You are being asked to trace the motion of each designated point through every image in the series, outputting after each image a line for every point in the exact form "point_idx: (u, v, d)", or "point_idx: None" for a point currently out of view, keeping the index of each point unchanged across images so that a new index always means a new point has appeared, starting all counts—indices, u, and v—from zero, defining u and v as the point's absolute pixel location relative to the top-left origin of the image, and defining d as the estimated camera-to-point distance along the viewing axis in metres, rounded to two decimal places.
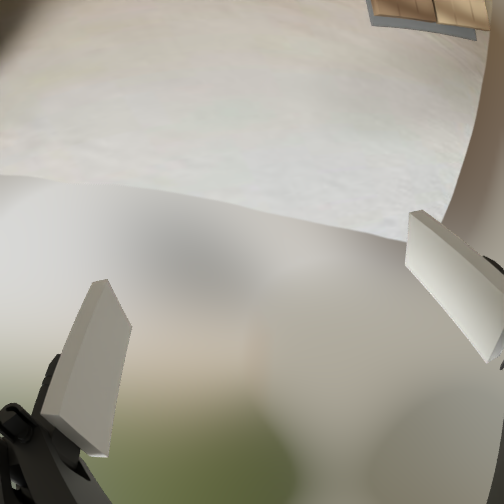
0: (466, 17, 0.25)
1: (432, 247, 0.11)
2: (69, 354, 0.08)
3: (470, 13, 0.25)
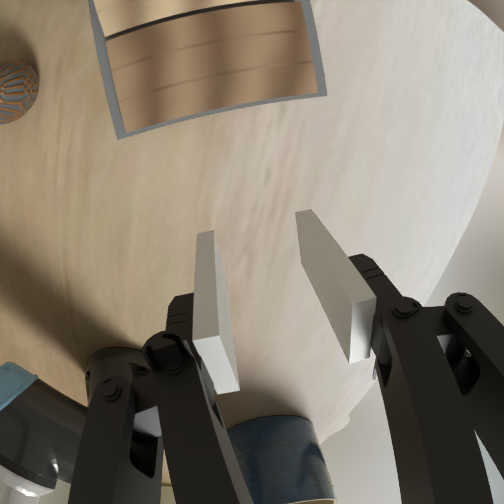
0: None
1: (308, 245, 0.12)
2: (205, 287, 0.10)
3: None
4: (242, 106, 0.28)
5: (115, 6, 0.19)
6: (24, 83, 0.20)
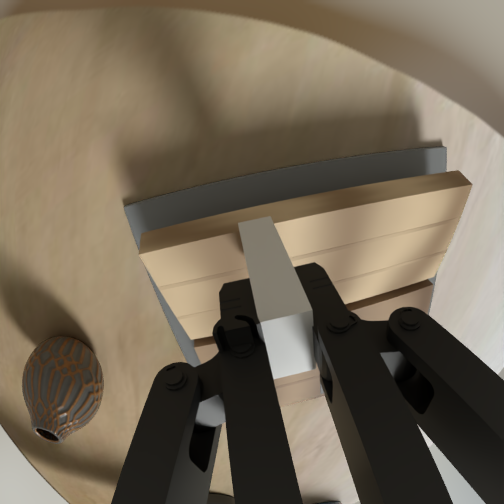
0: (440, 237, 0.18)
1: None
2: (260, 272, 0.10)
3: (434, 229, 0.17)
4: None
5: (206, 314, 0.19)
6: (94, 399, 0.19)
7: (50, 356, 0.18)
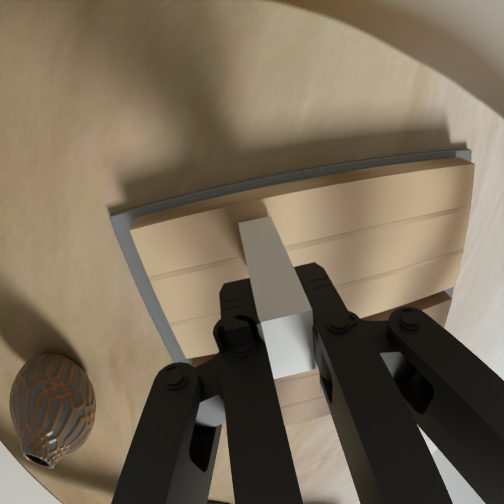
0: (453, 230, 0.16)
1: None
2: (260, 272, 0.10)
3: (445, 218, 0.16)
4: None
5: (202, 321, 0.17)
6: (86, 422, 0.16)
7: (37, 378, 0.15)
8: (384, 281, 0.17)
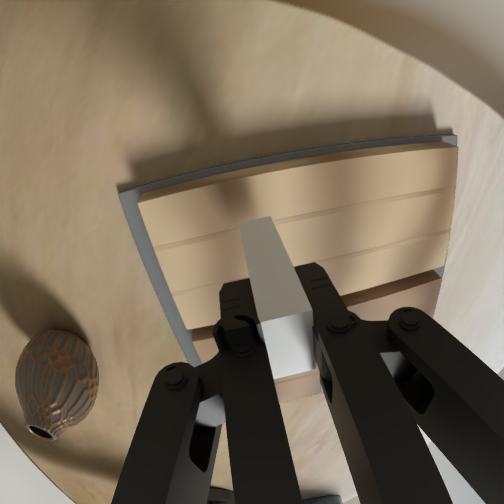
0: (439, 209, 0.17)
1: None
2: (260, 272, 0.10)
3: (430, 198, 0.17)
4: None
5: (202, 291, 0.18)
6: (89, 395, 0.18)
7: (43, 350, 0.17)
8: (373, 256, 0.18)
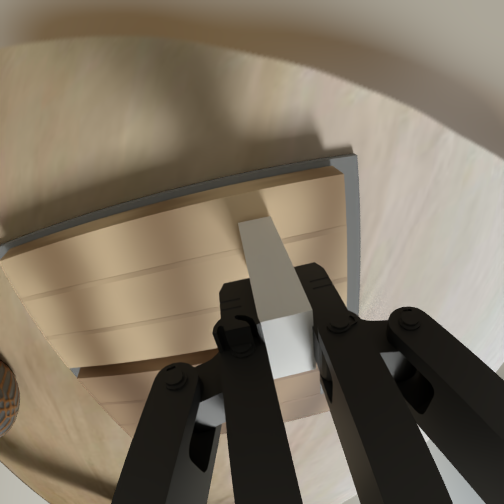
0: (322, 256, 0.16)
1: None
2: (260, 272, 0.10)
3: (304, 243, 0.15)
4: None
5: (67, 337, 0.16)
6: (5, 414, 0.16)
7: None
8: None
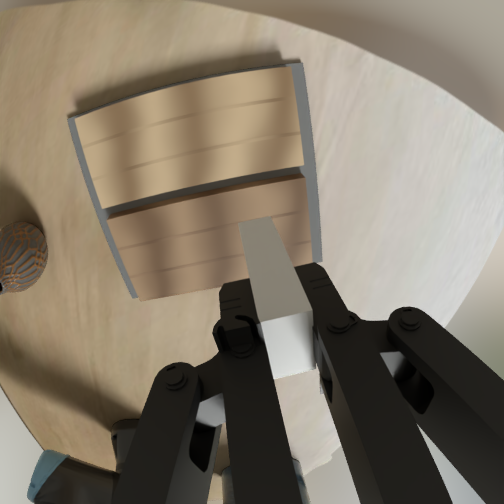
0: (282, 114, 0.24)
1: None
2: (260, 272, 0.10)
3: (270, 104, 0.24)
4: None
5: (110, 176, 0.25)
6: (35, 262, 0.25)
7: (11, 228, 0.24)
8: (227, 150, 0.25)
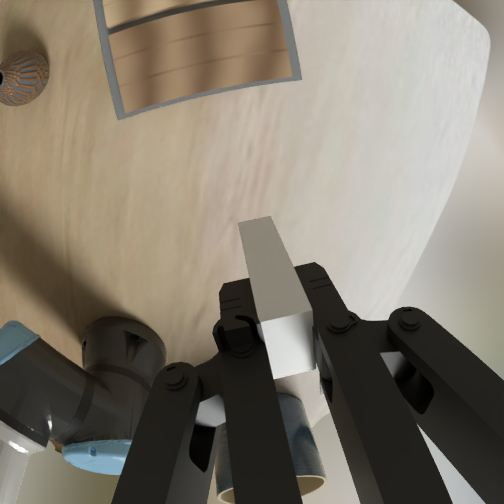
0: None
1: None
2: (260, 272, 0.10)
3: None
4: (226, 90, 0.32)
5: (118, 1, 0.23)
6: (37, 70, 0.23)
7: None
8: None
